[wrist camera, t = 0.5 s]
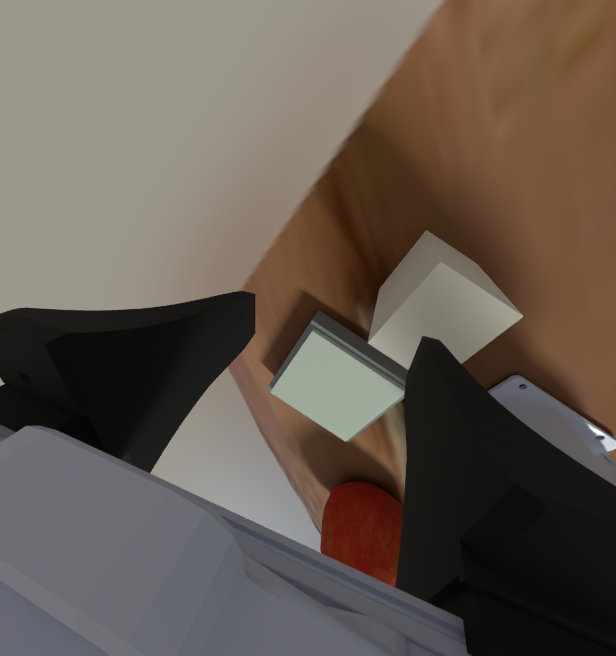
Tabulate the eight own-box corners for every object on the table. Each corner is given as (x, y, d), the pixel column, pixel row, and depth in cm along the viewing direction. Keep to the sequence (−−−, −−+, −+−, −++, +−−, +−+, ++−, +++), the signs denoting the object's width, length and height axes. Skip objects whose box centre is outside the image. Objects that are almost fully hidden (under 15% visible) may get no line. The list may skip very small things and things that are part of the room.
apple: (433, 497, 29) (445, 632, 21) (393, 532, 35) (390, 648, 27) (344, 457, 31) (321, 567, 22) (321, 496, 37) (295, 595, 28)
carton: (476, 263, 17) (523, 316, 10) (422, 317, 20) (432, 385, 13) (426, 229, 17) (440, 261, 10) (379, 288, 20) (367, 343, 13)
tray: (414, 373, 22) (415, 392, 20) (351, 426, 28) (347, 446, 26) (318, 309, 22) (310, 323, 20) (274, 376, 28) (264, 392, 26)
